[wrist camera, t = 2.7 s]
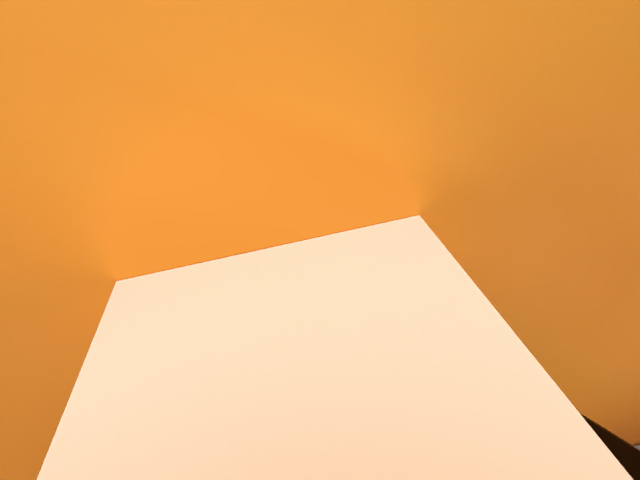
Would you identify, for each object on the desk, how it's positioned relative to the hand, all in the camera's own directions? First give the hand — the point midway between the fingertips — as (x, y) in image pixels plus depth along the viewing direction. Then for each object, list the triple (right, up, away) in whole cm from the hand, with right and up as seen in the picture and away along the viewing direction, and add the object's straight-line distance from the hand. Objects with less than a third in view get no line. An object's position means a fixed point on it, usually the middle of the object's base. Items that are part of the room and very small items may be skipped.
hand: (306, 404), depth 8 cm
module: (0, 0, +1) cm, 1 cm away
